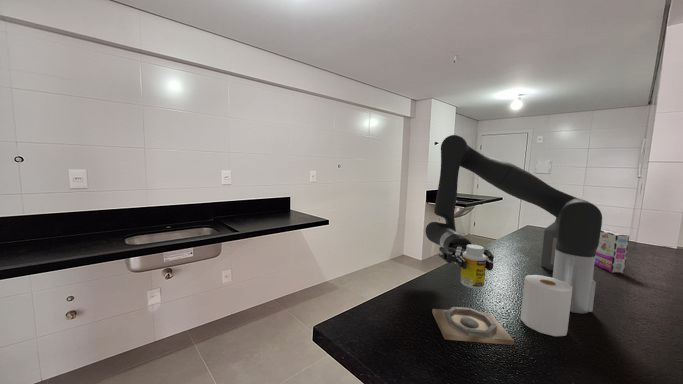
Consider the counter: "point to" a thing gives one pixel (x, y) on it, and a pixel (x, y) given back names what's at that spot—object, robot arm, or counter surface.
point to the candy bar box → (612, 251)
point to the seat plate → (470, 326)
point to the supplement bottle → (474, 267)
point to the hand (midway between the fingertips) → (477, 265)
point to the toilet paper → (546, 304)
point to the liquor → (550, 245)
